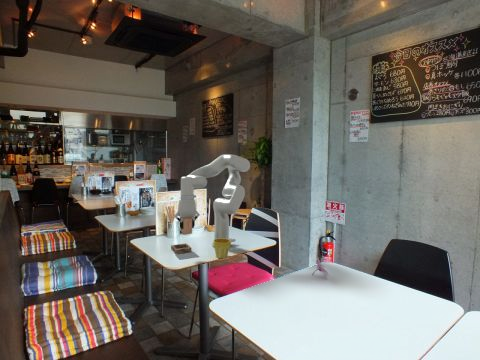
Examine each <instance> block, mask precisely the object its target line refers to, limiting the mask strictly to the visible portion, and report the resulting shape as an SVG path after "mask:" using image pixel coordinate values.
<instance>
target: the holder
mask: <svg viewBox="0 0 480 360" xmlns="http://www.w3.org/2000/svg"><path fill="white" fill-rule="evenodd" d="M170 249H171V251H172V252H173V253H174V255H177V254H185V253H192V246H191V245H189V244H187V243H177V244H170Z"/></svg>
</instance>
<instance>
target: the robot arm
mask: <svg viewBox="0 0 480 360" xmlns="http://www.w3.org/2000/svg"><path fill="white" fill-rule="evenodd" d="M225 169H227V170H228V178H227V181H226V183H225V185H224V186H223V189H222V191H221V195H222V196H223V197H217V198H216V199H215V200H214V201H213V204H212V208H213V212H214V213H213V214H214V230H213V231H214V233H213V234H214V237H213V238H214V239H213V240H215V239H218V238H225V239H229V240H231V243H236V241H237V240H236V238H230V218H229V217H230V216H229V215H235V214H236V213H237V212H238V210H239V209H240V206H241V205H242V202H243V200H244V198H245V196H246V195H245V194H246V190H245V188H244V186H242V185H240V184H241V181H242V178H241V174H240V173H241V172H242V173H246V172H248V171H249V170H250V169H251V163H250V161H249V160H248V159H247V158H245V157H242V156H239V155H236V154H229V153H228V154H227V153H226V154H224V153H223V154H221V155H219V156H218V157H217V158H216V159H214V160H213V161H212V162H210V163H209V164H207V165H203V166H201V167H198V168H197V169H195V170H193V171H192V172H191V173H189V174H188V175H185V176H181V177H180V199H179V200H178V205H177V206H178V207H177V212H176V213H175V214H174V216H173V217H174V218H175V219H176V220H177V221H178V222H179V228H180V229H181V230H182V229H183V222H182V221H183V217H193V218H192V229H195V226H196V225H195V221H196V220H197V219H198V218H199V217H200V216H201V214H200V213H199V212H198V211H197V204H196V200H195V198H196V199H197V195H196V194H195V189H198V190H199V189H204V188H205V187H206V186H207V184H208V178H213V177H216V176H218V175H219V174H220V173H222V172H223V171H224V170H225ZM211 246H212V247H214V246H213V242H212V243H211Z"/></svg>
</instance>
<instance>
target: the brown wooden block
mask: <svg viewBox="0 0 480 360" xmlns="http://www.w3.org/2000/svg"><path fill="white" fill-rule="evenodd" d="M192 218H193V217H183V221H182V222H183V229H181V234H182V235H192V234H193V228H192Z"/></svg>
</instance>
